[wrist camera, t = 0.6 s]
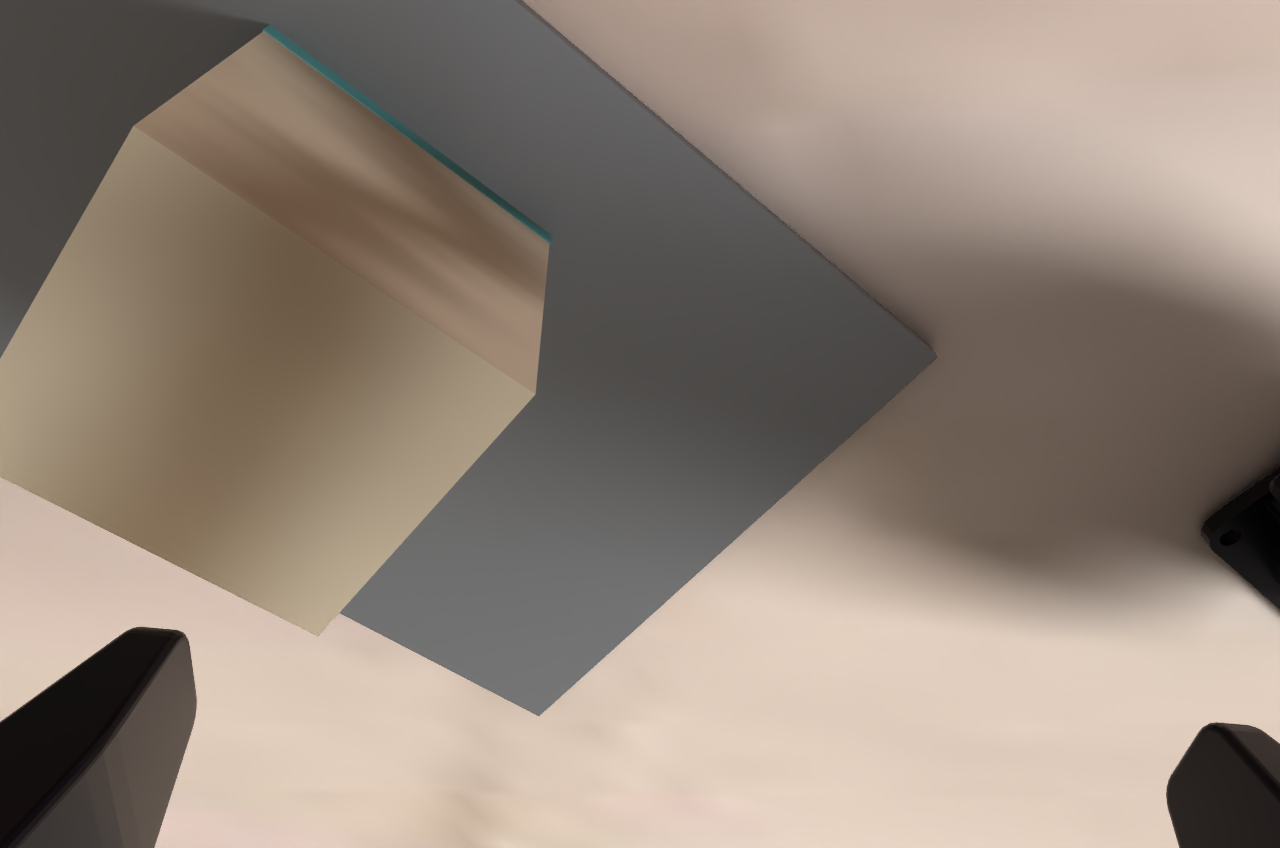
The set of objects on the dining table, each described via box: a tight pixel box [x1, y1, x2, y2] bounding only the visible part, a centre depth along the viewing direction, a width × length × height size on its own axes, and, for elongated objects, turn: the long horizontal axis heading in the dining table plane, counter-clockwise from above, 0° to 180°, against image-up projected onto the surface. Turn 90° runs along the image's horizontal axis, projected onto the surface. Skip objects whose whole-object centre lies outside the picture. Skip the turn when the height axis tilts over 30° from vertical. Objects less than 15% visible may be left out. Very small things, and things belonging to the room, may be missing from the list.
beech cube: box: [0, 25, 552, 636], centre depth 17 cm, size 6×6×6 cm
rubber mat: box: [0, 0, 937, 716], centre depth 19 cm, size 28×14×1 cm, turn 50°
